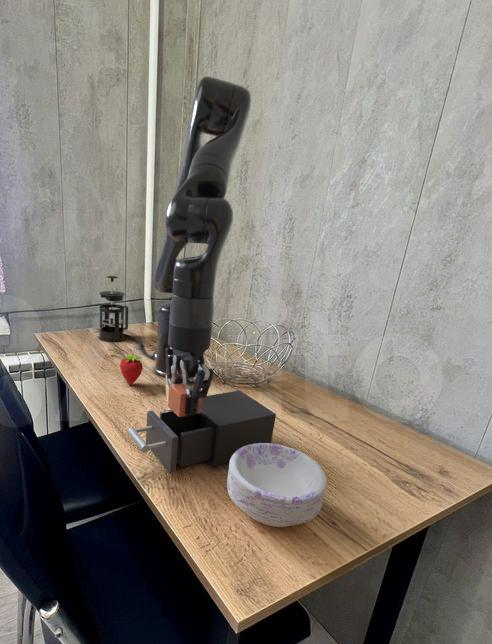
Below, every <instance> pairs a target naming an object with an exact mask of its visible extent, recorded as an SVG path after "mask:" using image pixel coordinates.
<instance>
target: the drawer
mask: <svg viewBox="0 0 492 644" xmlns="http://www.w3.org/2000/svg"><path fill="white" fill-rule="evenodd" d="M126 431H127V434H128V436H129V437H130V438H131V439H132V440H133V442H134V443H135V444H136V446H137V447H138V449H140V451H141V452H142V453H144V454H145V453H147V452H148V451H151V452H152V454H154V455H155V457H156V458H157V459H158V460H159V462H160V463H161V464H162V465H163V467H164V468H165V469H166V471H168V473H169V474H173V473H176V472H177V471H176V470H177V465H178V466H179V467H185V466H189V465H194V464H196V463H201V462H205V461H207V460H209V459H213V452H214V444H215V435H216V427H215V426H214V425H212V424H211V423H210V422H209V421H208V420H206V419H205V418H204V417H203V416H202V415H201V414H196V415H192V416H183V417H178V416H177V415H176V414H175V413H174V412H173V411H172V410H168V411H167V410H162V411H159V416H158V415H157V413H156V412H155V411H154V410H148V411H147V412H146V426H144V427H138V428H134V427H132V426H130V427H128V428H127V430H126ZM143 432H145V440H144V439H143V438H142V437H141V435H140V434H139V433H143Z"/></svg>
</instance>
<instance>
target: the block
mask: <svg viewBox="0 0 492 644" xmlns="http://www.w3.org/2000/svg"><path fill="white" fill-rule="evenodd" d="M193 387H194V384H193V385H191V389H192V391H193ZM201 391H202V389H201ZM186 397H187V395H186V386H185V385H184V384H183V383H178V384H171V385H169V397H168V407H169V408H170V409H171V410H172V411H173V412H174V413H175V414H176V415H177V416H178V417H183V416H187V415H186V414H185V406H186ZM201 403H202V398H199V400H198V410H197V414H199V413H201Z"/></svg>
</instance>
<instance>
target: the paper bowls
mask: <svg viewBox="0 0 492 644" xmlns="http://www.w3.org/2000/svg"><path fill="white" fill-rule="evenodd" d="M327 479H328V478H327V476H326V473H325V471H324V469H323V468H322V466H321V465H320V464H318V462H317V461H315V460H314V459H313V458H312V457H311V456H309V455H308V454H305V453H304V452H301V451H299V450H298V449H295V448H293V447H290V446H288V445H282V444H278V443H272V442H271V443H256V444H250V445H246V446H244V447H242V448H240V449H238V450H237V451H236V452H235V453H234V454H233V455H232V457H231V459H230V464H228V472H227V481H226V489H227V492H228V495H229V498H230V499H231V501H232V502H233V504H234V505H235V506H236V507H237V508H239V509H240V510H241V511H242V512H243V513H245V514H246V515H247V516H248V517H250V518H251V519H252V520H254V521H256V522H258V523H260V524H263V525H265V526H269V527H273V528H284V527H285V528H286V527H290V526H297V525H301V524H305V523H307V522H310V521H312V520H313V519H315V518H316V517H317V516H318V515H319V514H320V512H321V509H322V506H323V503H324V498H325V494H326V489H327V487H328V480H327Z"/></svg>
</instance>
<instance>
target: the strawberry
mask: <svg viewBox="0 0 492 644" xmlns="http://www.w3.org/2000/svg"><path fill="white" fill-rule="evenodd" d="M134 353H135V351H133V352H132V354H131V355H130V354H126V356H122V358H123V359H121V361H120V364H119V369H120V372H121V375H122V376H123V378H124V380H125V381H126V383H127V384H128V385H129V386H132V385H134V383H136V381H137V380H138V379H139V378H140V376H141V374H142V372H143V370H144V369H143V363H142V362H141V360H140V359H143V357H142V356H135V355H134Z"/></svg>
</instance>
